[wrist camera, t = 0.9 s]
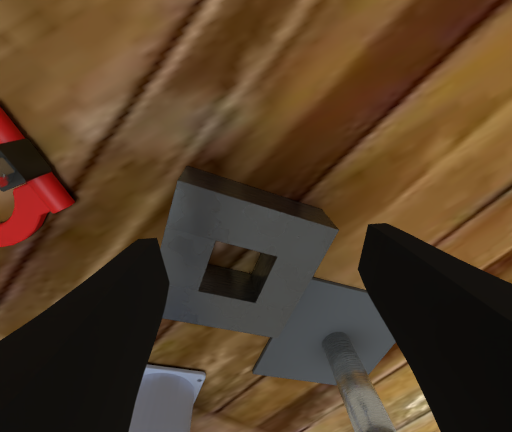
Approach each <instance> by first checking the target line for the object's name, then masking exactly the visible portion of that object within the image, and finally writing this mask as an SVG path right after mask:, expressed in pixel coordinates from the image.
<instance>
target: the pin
mask: <svg viewBox="0 0 512 432" xmlns="http://www.w3.org/2000/svg"><path fill="white" fill-rule="evenodd" d="M322 346H323V349H324V352H325V354H326V357H327V360H328V362H329V365H330V368H331V370H332V373H333V375H334V378H335V381H336V383H337V386H338V389H339V391H340V394H341V397H342V399H343V402H344V405H345V407H346V410H347V413H348V415H349V418H350V421H351V423H352V426H353V428H354V431H355V432H396V430H395V428H394V426H393V424H392V422H391V420H390V418H389V416H388V414H387V412H386V410H385V408H384V406H383V404H382V402H381V400H380V398H379V396H378V394H377V392H376V390H375V388H374V386H373V384H372V382H371V380H370V378H369V376H368V374H367V372H366V370H365V368H364V366H363V364H362V362H361V360H360V358H359V356H358V354H357V352H356V350H355V348H354V346H353V344H352V342H351V340H350V338H349V336H348V335H347V334H346V333H344V332H334V333H331V334H329V335H328V336H326V337H325V338H324V339H323V341H322Z"/></svg>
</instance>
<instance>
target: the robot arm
mask: <svg viewBox="0 0 512 432" xmlns="http://www.w3.org/2000/svg"><path fill="white" fill-rule="evenodd" d="M358 271H359V273H360V276H361V278H362V281H363V283H364V286H365V288H366V290H367V293H368V295H369V297H370V298H371V300H372V302H373V304H374V305H375V307H376V309H377V311H378V312H379V314H380V316H381V318H382V319H383V321H384V323H385V324H386V326H387V328H388V329H389V331H390V333H391V334H392V336H393V338H394V340H395V341H396V343H397V345H398V346H399V348H400V350H401V351H402V353H403V355H404V357H405V358H406V360H407V362H408V364H409V366H410V367H411V369H412V371H413V373H414V375H415V377H416V379H417V381H418V383H419V386H420V388H421V390H422V392H423V394H424V396H425V398H426V400H427V402H428V405H429V407H430V409H431V411H432V413H433V415H434V418H435V420H436V422H437V424H438V427H439V429H440V431H441V432H512V284H511V283H509V282H506V281H504V280H502V279H500V278H498V277H495V276H493V275H491V274H489V273H487V272H485V271H482V270H480V269H478V268H476V267H474V266H472V265H470V264H468V263H466V262H464V261H461V260H459V259H457V258H455V257H453V256H451V255H449V254H447V253H445V252H443V251H441V250H440V249H438V248H436V247H434V246H432V245H430V244H428V243H426V242H424V241H422V240H420V239H418V238H416V237H414V236H412V235H410V234H408V233H406V232H404V231H402V230H400V229H398V228H396V227H394V226H391V225H389V224H386V223H381V224H368V228H367V232H366V236H365V241H364V245H363V249H362V254H361V258H360V262H359V267H358ZM169 284H170V282H169V278H168V275H167V272H166V268H165V265H164V261H163V258H162V254H161V251H160V247H159V244H158V240H157V238H149V239H138V240H137V241H135V242H134V243H132V244H131V245H130V246H128V247H127V248H126V249H124V250H123V251H122V252H121V253H119V254H118V255H117V256H116V257H114V258H113V259H112V260H111V261H109V262H108V263H107V264H106V265H104V266H103V267H102V268H101V269H99V270H98V271H97V272H96V273H94V274H93V275H92V276H91V277H89V278H88V279H87V280H86V281H84V282H83V283H82V284H80V285H79V286H78V287H76V288H75V289H74V290H72V291H71V292H70V293H68V294H67V295H65V296H64V297H63V298H61V299H60V300H59V301H57V302H56V303H55V304H53V305H52V306H51V307H49V308H48V309H47V310H45V311H44V312H42V313H41V314H39V315H38V316H37V317H35V318H34V319H32V320H31V321H29V322H28V323H26V324H25V325H23V326H22V327H20V328H19V329H17V330H16V331H14V332H13V333H11V334H10V335H8V336H7V337H5V338H3V339H2V340H0V432H190V427H191V418H192V409H193V405H194V402H195V400H196V398H197V396H198V393H199V391H200V389H201V386H202V384H203V382H204V380H205V376H206V374H205V373H204V372H201V371H194V370H186V369H179V368H171V367H163V366H156V365H148V364H147V363H148V360H149V357H150V354H151V351H152V348H153V345H154V342H155V339H156V336H157V332H158V329H159V326H160V323H161V320H162V317H163V314H164V310H165V306H166V301H167V295H168V290H169Z"/></svg>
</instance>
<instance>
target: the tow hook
mask: <svg viewBox="0 0 512 432" xmlns="http://www.w3.org/2000/svg"><path fill="white" fill-rule="evenodd" d="M26 182H27V184H24V183H26ZM21 184H24V185H22V186H20V187H18V188H15V189H14V191H13V195H14V201H15V208H14V211H13V213H12V216H11V217H10V218H9V219H8V220H7V221H6V222H3V223H0V247H4V246H10V245H14V244H16V243H19V242H21V241H23V240H25V239H27V238H28V237H30V236H31V235H33V234H34V233H35V232H36V231H37V230H38V229H39V228H40V227H41V226H42V224H43V222H44V220H45V217H46V215H47V213H48V212H50V211H51V212H52V213H56V212H59V211H61V210H63V209H65V208H67V207H69V206H71V205H72V204H74V203H75V201H74V200H73V198H72V197H71V196H70V195H69V193H68V192H67V191H66V190H65V188H64V187H63V186H62V184H61V183H60V182H59V181H58V179H57V178H56V177H55V176H54V174H53V173H52V169H51V167H50V166H49V165H48V164H47V162H46V161H45V160H44V158H43V157H42V156H41V155H40V153H39V152H38V151H37V149H36V148H35V147H34V146H33V144H32V143H31V142H30V141H29V140H28V139H25V137H24V136H23V135H22V133H21V132H20V131H19V130H18V128H17V127H16V126H15V125H14V123H13V122H12V121H11V119H10V118H9V117H8V116H7V114H6V113H5V112H4V111H3V109H2V108H1V107H0V190H1V191H7V190H9V189H11V188H14V187H16V186H19V185H21Z"/></svg>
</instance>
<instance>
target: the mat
mask: <svg viewBox="0 0 512 432" xmlns="http://www.w3.org/2000/svg"><path fill="white" fill-rule="evenodd" d="M334 332H344V333H346V334H347V335H348V336H349V338H350V340H351V342H352V344H353V346H354V348H355V350H356V352H357V354H358V356H359V358H360V360H361V362H362V364H363V366H364V368H365V370H366V372H367V374H369V373H370V372H371V371H372V370H373V368H374V367H375V366H376V365H377V364H378V362H379V361H380V360H381V359H382V358H383V356H384V355H385V354H386V353H387V352H388V350H389V349H390V348H391V347H392V346H393V344H394V343H395V342H396V341H395V340H394V338H393V336H392V334H391V333H390V331H389V329H388V328H387V326H386V324H385V323H384V321H383V319H382V318H381V316H380V314H379V312H378V311H377V309H376V307H375V305H374V304H373V302H372V300H371V298H370V297H369V295H368V293H367V291H366V290H362V289H358V288H354V287H350V286H346V285H342V284H338V283H334V282H330V281H326V280H322V279H318V278H314V277H312V279H311V281H310V282H309V284H308V286H307V288H306V289H305V291H304V293H303V295H302V296H301V298H300V300H299V302H298V304H297V305H296V307H295V309H294V311H293V312H292V314H291V316H290V318H289V320H288V321H287V323H286V325H285V327H284V328H283V330H282V332H281V334H280V336H279V337H278V338H273V337H270V339H269V341H268V343H267V345H266V346H265V348H264V350H263V352H262V354H261V356H260V357H259V359H258V361H257V363H256V365H255V367H254V368H253V370H252V371H253V374H258V375H265V376H273V377H280V378H287V379H295V380H302V381H310V382H317V383H324V384H332V385H337V383H336V381H335V378H334V375H333V373H332V370H331V368H330V365H329V362H328V360H327V357H326V354H325V352H324V349H323V346H322V341H323V339H324V338H325V337H326V336H328V335H329V334H331V333H334Z"/></svg>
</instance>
